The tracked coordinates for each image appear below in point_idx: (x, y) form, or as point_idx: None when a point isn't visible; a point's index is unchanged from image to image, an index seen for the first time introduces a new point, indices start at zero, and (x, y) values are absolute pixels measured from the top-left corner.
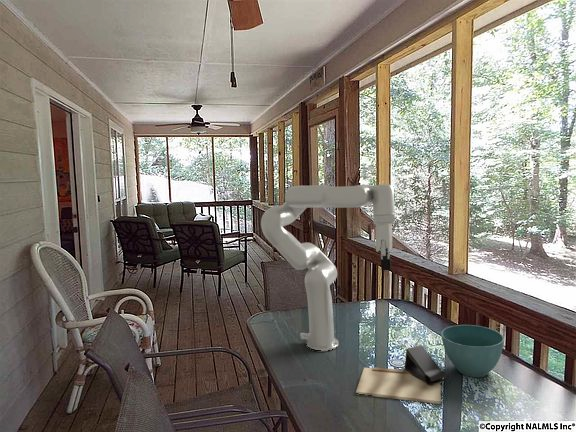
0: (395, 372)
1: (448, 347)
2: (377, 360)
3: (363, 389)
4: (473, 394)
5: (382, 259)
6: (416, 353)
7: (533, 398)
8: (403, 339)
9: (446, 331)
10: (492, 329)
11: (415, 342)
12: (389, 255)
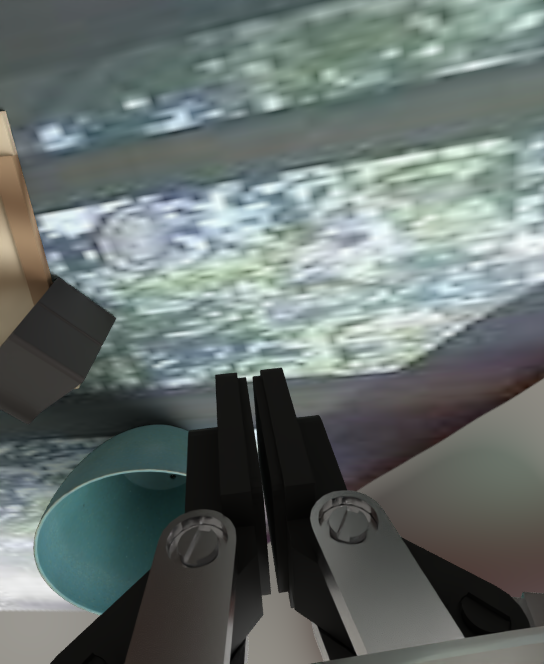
0: (19, 252)
1: (72, 475)
2: (123, 153)
3: None
4: (15, 465)
5: (186, 529)
6: (24, 363)
7: None
8: (371, 227)
9: None
10: None
11: (347, 277)
12: (324, 654)
